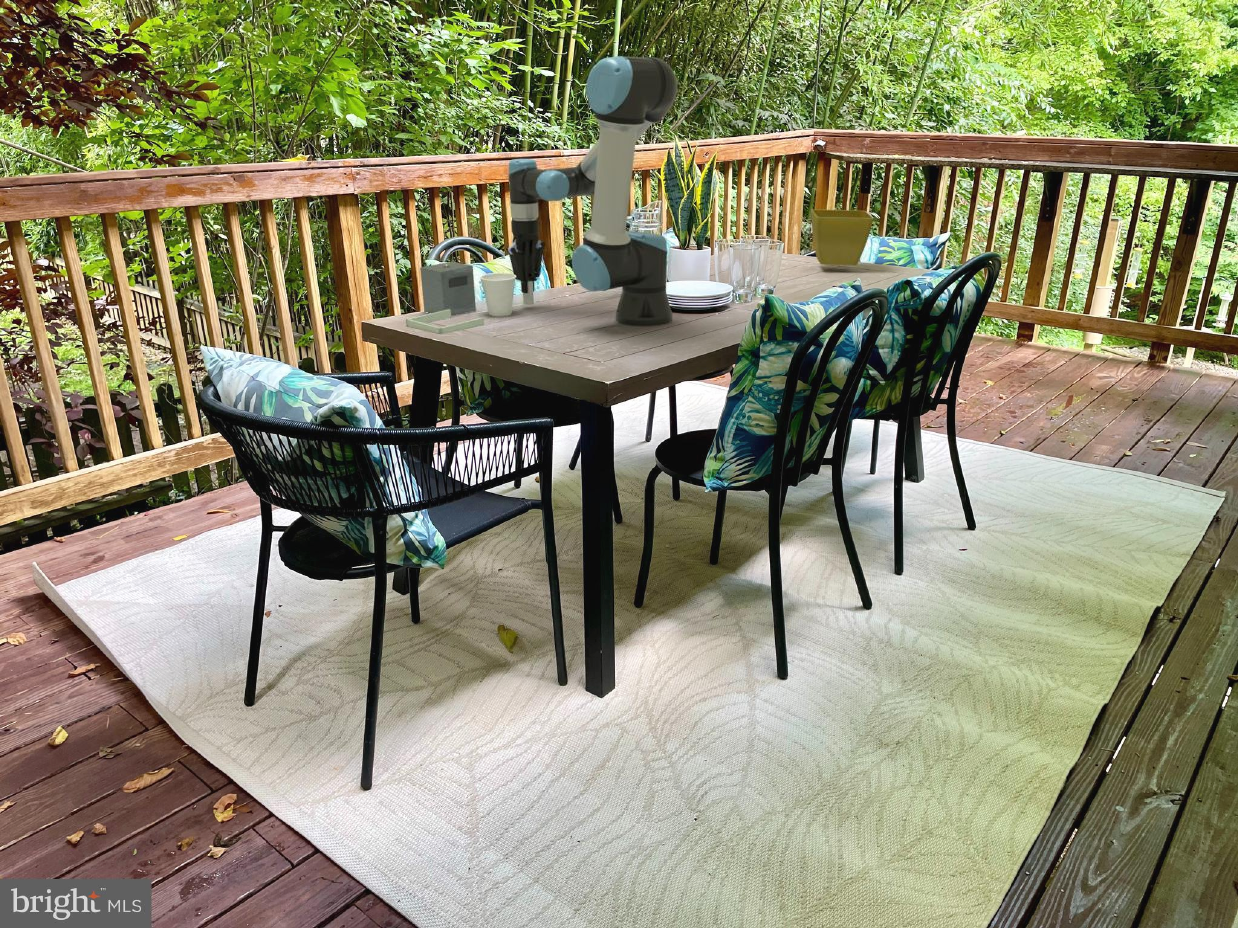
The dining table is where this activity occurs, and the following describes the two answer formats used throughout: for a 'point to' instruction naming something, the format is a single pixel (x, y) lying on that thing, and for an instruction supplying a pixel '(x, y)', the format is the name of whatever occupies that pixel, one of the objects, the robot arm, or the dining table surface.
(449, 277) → the box
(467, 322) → the corral
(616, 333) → the dining table surface
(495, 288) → the cup
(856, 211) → the flower pot
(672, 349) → the dining table surface
